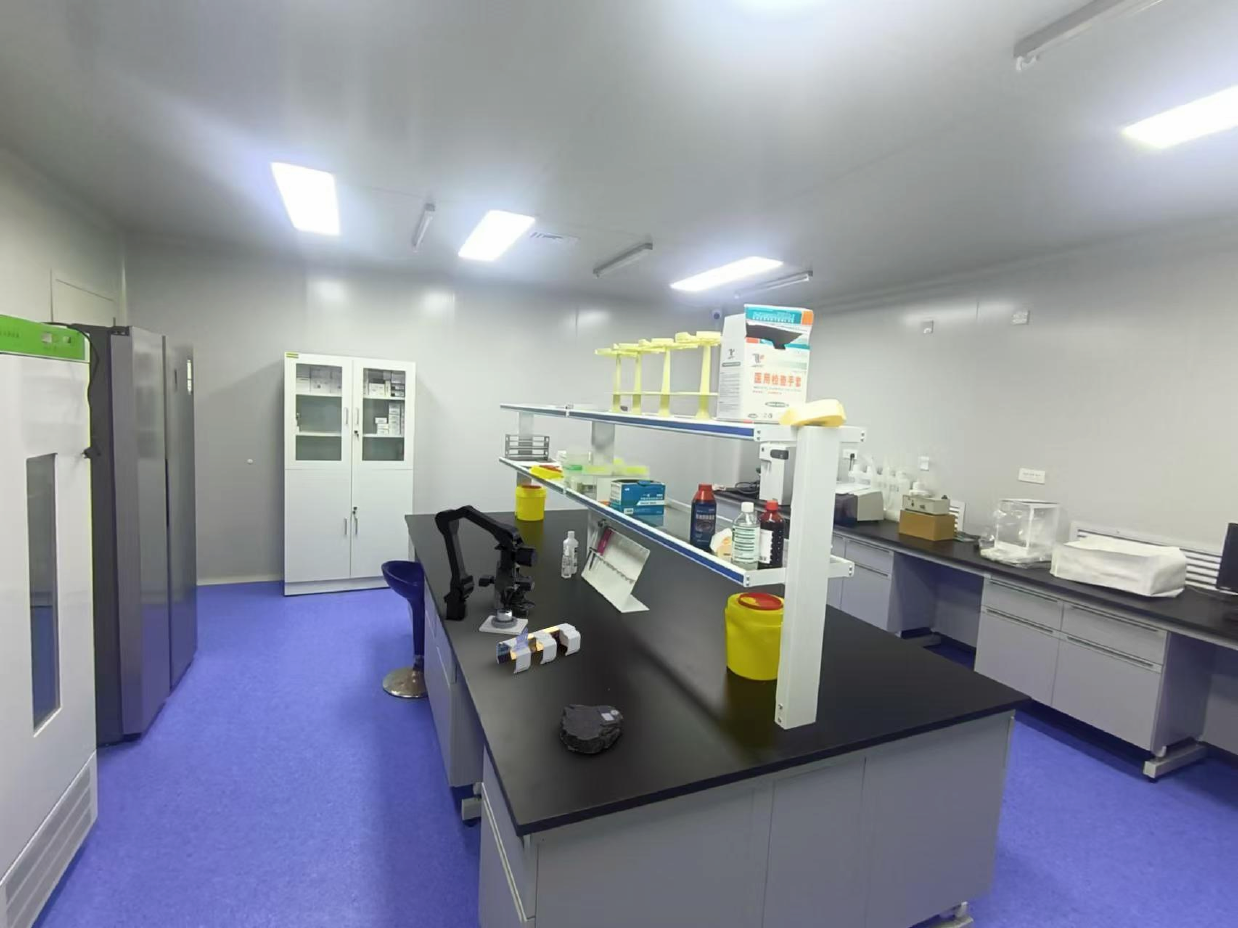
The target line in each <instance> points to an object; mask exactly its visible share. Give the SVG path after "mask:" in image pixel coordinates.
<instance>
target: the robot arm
mask: <svg viewBox="0 0 1238 928" xmlns="http://www.w3.org/2000/svg"><path fill="white" fill-rule="evenodd" d="M461 519H466V520H468V522H469V521H470V522H471V523H473V524H474V525H476V526H478V527H480V528H481V529H483V530H484V531H487V532H489V533H490V534H491V535H492V536H493V538H494V540H496V541H497V542H498V544H497V545H496V546H495V547H494V550H495V551H499V560H500V564H499V569H498V573H497V575H496V574H495V575H493V574H485V573H484V574H483V575H482V576H481V577H480V578H479V579H478V582H477V583H478V586H479V587H481V588H482V587H483V588H487V587H488V586H490V585H494V586H493V589H494V591H495V590H497V591H498V592H499V593H500V595H501V598H502V601H503V605H504V608H508V606H507V605H508V602H509V600H510V598H511V595H512V593H513V592H515V591H516V590H517V588H518V587H519V586H520V589H521V590H522V591H527V592H532V590H533V589H534V588H535V579H534V578H533V579H528V578H527V577H524V579H523V580H522V581H516V576H515V575H516V566H517V564H518V565H520V567H529V568H535V567H536V566H537V564H538V562H539V553H538V551H537V547H535V546H526V542H525V540H524V539H523V536H522V535H521V533H520V529H519V528H518V527H517V526H514V525H511V524H508V523H503V522H500V521H497V520H496V519H494V518H492V517H491V516H489V515H487V514H485V513H484V512H482V511H480V510H479V509H476V508H475V507H474V506H473V505H471V504H467V505H463V506H460V507H458V508H456V509H453V508H449V509H445V510H442V511H438V512H437V513H436V515H435V516H434V523H435V525H436V528H437V530H438V532H440V534H441V535H442V536H443V540H444V546H445V548H446V549H445V550H446V555H447V559H448V563H449V569H450V573H451V575H450V576H451V577H450V581H449V592H448V593H447V594H445V595H444V596H443V597H442V598H443V603H444V604H446V610H445V611H446V613H445V614H446V615H445V616H444V618H443V619H444V620H452V621H460V622H461V621H463V620H464V619H465V617H467V616H468V609H469V607H468V606H469V604H468V603H467V599H469V598H470V595H471V594H472V593H473V592H474V590H475V586H476V584H475V582H474V576H473V574H470V575H469V574H468V573H467V571H466V567H465V563H464V559H463V553H462V549H461V544H460V538H459V535H458V532H459V531H458V530H459V527H460V520H461ZM514 543H515V544H514ZM516 563H517V564H516Z"/></svg>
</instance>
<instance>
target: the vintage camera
mask: <svg viewBox="0 0 1238 928" xmlns="http://www.w3.org/2000/svg"><path fill="white" fill-rule="evenodd" d="M499 564H500V559H498V560H497V562H496V565H495V566H496V567H495V568H496V569H495V576H496V575H497V573H498V569H499ZM516 564H517V563H516ZM520 571H521V565H518V564H517V566H516V575H515V576H516V581H522V580H523V579H524V578H525V576H524V575H522V574H521V572H520ZM526 578H528V579H533V580H534V578H533V577H532V576H531V575H527V576H526ZM493 593H494V595H493V607H494V610H499V609H500V608H505V607H504V605H503V601H502V598H501V595H500V593H499V592H498V591H497V590H495V589H494V591H493ZM526 593H528V591H522V590H521V589H520V586H519V587H518V588H517V590H516V591H515V592H513V593H512V595H511V598H510V600H509V602H508V605H507V607H510V608H514V609H516V610H519V611H525V613H526V616H529V609H530V608H534V607H537V606H538V604H537V603H536V602H535V601H534V602H533V601H530V600H529V599H526V598H525V594H526Z"/></svg>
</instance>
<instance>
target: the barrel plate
mask: <svg viewBox="0 0 1238 928" xmlns="http://www.w3.org/2000/svg"><path fill="white" fill-rule="evenodd" d="M528 623H529V621H528V619H526V618H525V619H524V618H517V617H516V616H514V615H512V620H511V622H510V623H498V622H497V615H489V616H488V617H487V619H486V620H485V621H484V622H483V623H482V625H481V626H480V627H479V632H486V633H493V634H506V635H513V636H519V635H520V633H522V632H523V629H524V630H525V628H526V625H527V624H528Z"/></svg>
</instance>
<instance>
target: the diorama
mask: <svg viewBox="0 0 1238 928" xmlns="http://www.w3.org/2000/svg"><path fill="white" fill-rule="evenodd" d="M560 644H561V645H563V646H565V647H567V651H566V652H565V653H564V655H565V656H568V655H571V654H574V653H576V652H577V653H578V651H579V649H580V647H581V634H580V632H579V631H578V630H576V628H575V626H573V625H571V624H569V623H567V622H566V623H561V624H558V625H554V626H550V627H548V628H545V629H544V628H543V629H540V630H538V631H534V632H530V633H529V632H528V628H527V627H524V629H523V630H522V632H521V633H520V635H516V637H512V638H510V639H507V640H504V641H500V642H498V643H496V653H495V654H496V655H495V656H496V657H495V658H496V662H497V664H498V665H499V664H503V663H506V662H508V661H512V660H515V669H514V671H513V675H515V674H517V672H518V673H520V672H523V671H525V670H526V671H527V670H528V669H529V667H530V666H531V656H532V654H533V653H537V652H538V651H541V650H542V660H541V661H540V665H543V664H545V662H546V663H549V662H551V661H554V659H555V658H556V657H557V647H558V645H560Z"/></svg>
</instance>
